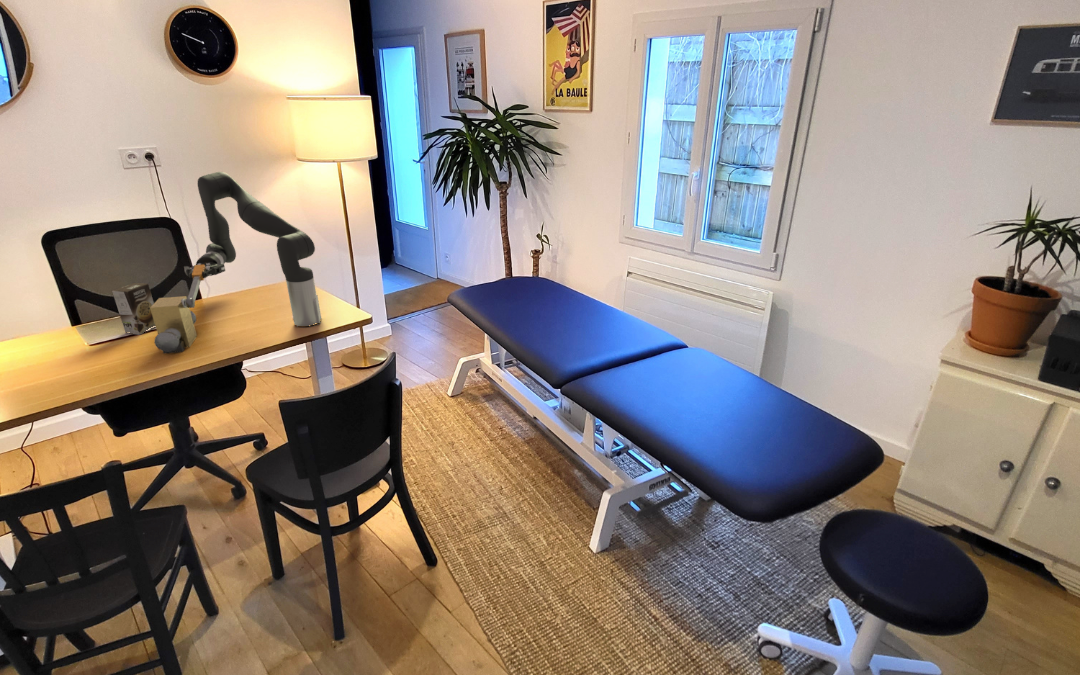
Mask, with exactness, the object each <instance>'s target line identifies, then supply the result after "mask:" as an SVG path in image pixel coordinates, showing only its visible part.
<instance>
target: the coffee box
mask: <svg viewBox="0 0 1080 675" xmlns="http://www.w3.org/2000/svg"><path fill="white" fill-rule="evenodd" d="M111 291H112V294H113V298H114V302H115V304H116V307H117V310H118V313H119V314H118V315H119V317H120V320H121V323H122V327H123V330H124V332H130V333H133V334H132V335H139V336H140V335H142V334H144V332H145V331H146V330H148V329H149V328H151V327H153V326H155V323H154V319H153V316H152V313H151V309H150V307H151V306H152V305H153V304H154V303H155V301H154V299H153V297H152V296H153V295H152V292H151V289H150V285H149V283H145V282H139V283H138V282H132V283H129V284H126V285H124V286H121V287H118V288H116V289H113V290H111ZM145 333H146V332H145Z"/></svg>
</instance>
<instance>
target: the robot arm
mask: <svg viewBox="0 0 1080 675" xmlns="http://www.w3.org/2000/svg"><path fill="white" fill-rule="evenodd" d="M197 189H198V194H199V196H200V197H199V198H200V199H201V204H202V207H203V211H204V213H205V216H206V220H207V226H208V238H209V240H210V242H211V243H209V244H207V246H206V249H205V253H204V254H203V255H201V256H200V258H198V259H197V261H196V262H195V265H205V268H206V270H204V271H203V272H202V276H203V278H204V279H206V278H208V277H212V276H217V275H219V274H222V273H223V272H226V267H225V263H226V264H228V263H229V264H231V263H233V262H234V261H235V260H236V257H237V252H236V248H235V245H234V243H232V240H231V237H230V236H231V235H230V225H229V223H228V221H227V219H226V217H225V216H224V215H223V214H222V213H221V212H220V211H219V210H218V209H217V208H216V201H219V200H223V199H226V198H231V199H232V200H234V201H235V202H236V204H237V205H236V206H237V213H238V216H239V218H240V219H241V220H242V221H243V222H244V223H245V224H246V225H248V227H250V228H251V229H253V230H254V231H256V232H258V233H261V234H265V235H267V236H271V237H274V238H278V239H277V241H276V251H277V255H278V259H279V262H280V266H281V272H283V275H284V278H285V282H286V288H287V293H288V298H289V305H290V308H291V313H292V321H293V324H295V325H297V326H296V327H298V326H309V325H313V324H315V323H320V324H321V322H320V319H321V320H322V313H321V309H320V302H319V297H318V294H317V291H316V289H317V288H316V283H315V279H314V278H315V277H314V272H313V270H312V268H310V267H306V266H301V265H300V262H299V261H300V260H301V261H302V260H304V259H307V258H310V257H311V256H312V255H314V254H315V251H316V247H315V243H314V241H313V240H312V238H311V237H310V236H309V235H308V234H307V233H305V232H304V231H303V230H301V229H299V228H298V227H295V226H294V225H292V224H291V223H289V221H286V220H285V219H284V218H282V217H280V216H279V215H277V213H275V212H274V211H272V210H271V209H270V208H269V207H268V206H266V205H265V204H264V203H262V202H261V201H260V200H258V198H256V197H254V196H253V195H252V194H250V193H249V192H248V191H247V190H245V188H244V187H242V186H241V185H240V184H239V183H238V182H237V181H236V180H235V179H234V178H233V177H232V176H230V174H228V173H227V172H224V171H217V172H212V173H210V174H209V173H208V174H204V175H201V176H199V178H198V179H197ZM195 265H192V267H190V266H188V265H184V266H183V268H184V273H185V275H186V276H187V277H189V278H190V279H191V280H193V277H192V273H193V270H194V266H195ZM295 325H294V326H295ZM309 327H310V326H309Z"/></svg>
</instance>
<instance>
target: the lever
mask: <svg viewBox="0 0 1080 675" xmlns="http://www.w3.org/2000/svg"><path fill="white" fill-rule="evenodd" d="M193 266H194V265H193ZM204 270H206V268H205V265H196V264H195V266H194V270H193V273H192V277H193V279H192V283H191V286H190V289H189V293H188V295H187V297H186V298H187V299H186V306H187V307H188V308H189V309H192V308H193V309H194V308H195V306H196V298H197V295H198V292H199V288H200V285H201V283H202V281H205V278H203V276H202V272H203V271H204Z"/></svg>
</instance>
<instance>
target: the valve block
mask: <svg viewBox="0 0 1080 675" xmlns="http://www.w3.org/2000/svg"><path fill="white" fill-rule="evenodd" d="M187 298H188V297H187V296H186V295H185V296H183V295H182V296H181V295H180V296H171V297H158V299H157V300H156V301H154V304H153V305H152V306H151V307H150V309H151V313H152V316H153V319H154V323H155V326H156V327H155V329H156V333H157V334H156V336H155V338H154V345H155V347H156V348H157V349H158V350H160V351H162V354H163V355H166V354H175V353H183V352H184V351H185V349H186V348H190V347H191V346H192V345H193V343H194V342H195V340H196V338H197V337H198V334H197V331H196V327H195V324H196V323H197V322H196V321H197V316H196V314H195V313H194V311H192V310H191V308H188V307H187V306H186V299H187Z"/></svg>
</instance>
